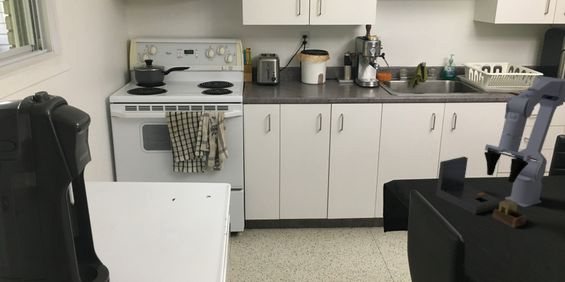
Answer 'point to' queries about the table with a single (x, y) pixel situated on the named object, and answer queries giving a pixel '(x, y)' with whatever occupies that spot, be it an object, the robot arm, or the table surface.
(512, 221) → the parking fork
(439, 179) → the dark grey l-shaped block
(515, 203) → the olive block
